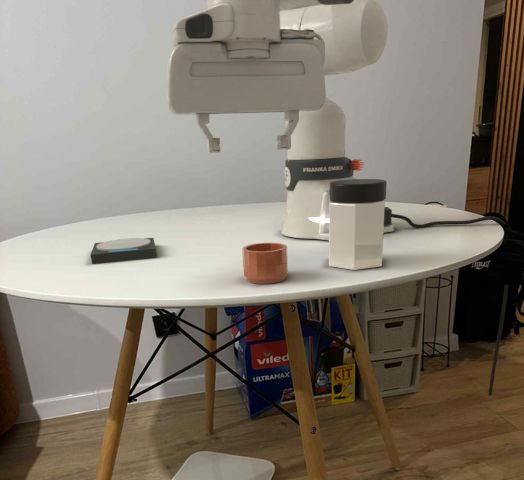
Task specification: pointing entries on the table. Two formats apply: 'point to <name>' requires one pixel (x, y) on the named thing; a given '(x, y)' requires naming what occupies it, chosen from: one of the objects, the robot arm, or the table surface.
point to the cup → (265, 263)
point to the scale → (123, 250)
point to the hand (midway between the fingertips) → (249, 151)
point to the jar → (356, 223)
